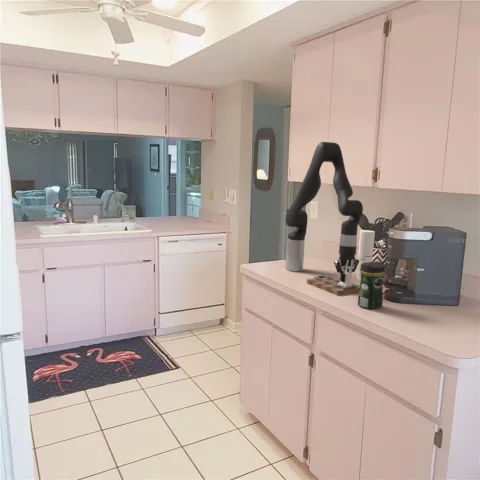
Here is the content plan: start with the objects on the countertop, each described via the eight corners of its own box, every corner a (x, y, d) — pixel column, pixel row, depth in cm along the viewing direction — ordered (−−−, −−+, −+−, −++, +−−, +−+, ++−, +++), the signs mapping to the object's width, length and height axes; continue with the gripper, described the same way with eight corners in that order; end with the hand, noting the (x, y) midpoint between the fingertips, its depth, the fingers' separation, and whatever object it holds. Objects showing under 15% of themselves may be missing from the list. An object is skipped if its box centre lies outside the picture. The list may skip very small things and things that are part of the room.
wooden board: (306, 283, 199) (306, 277, 199) (331, 279, 207) (332, 274, 206) (337, 295, 180) (337, 289, 180) (363, 291, 188) (364, 285, 187)
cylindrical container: (371, 281, 206) (375, 232, 202) (356, 280, 208) (360, 231, 204) (369, 277, 213) (374, 230, 209) (355, 276, 215) (359, 229, 211)
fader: (337, 285, 188) (338, 272, 187) (344, 284, 190) (345, 271, 189) (345, 288, 184) (346, 274, 183) (352, 287, 186) (353, 273, 185)
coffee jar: (370, 302, 172) (374, 259, 169) (385, 307, 165) (389, 263, 162) (353, 304, 168) (357, 260, 165) (368, 310, 161) (372, 264, 158)
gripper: (353, 242, 190) (350, 278, 193) (330, 243, 184) (328, 280, 187) (365, 244, 184) (362, 282, 187) (342, 246, 177) (339, 285, 180)
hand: (345, 281), depth 187 cm, fingers closed on fader, 2 cm apart
